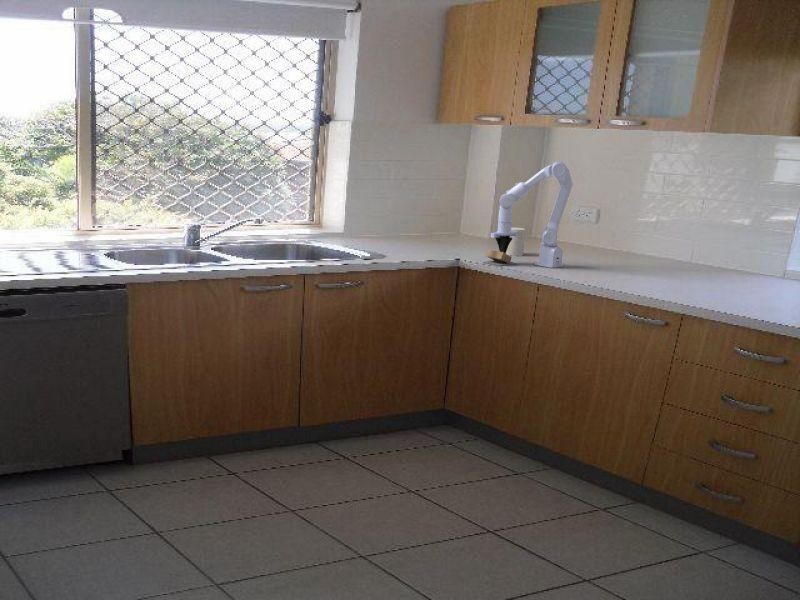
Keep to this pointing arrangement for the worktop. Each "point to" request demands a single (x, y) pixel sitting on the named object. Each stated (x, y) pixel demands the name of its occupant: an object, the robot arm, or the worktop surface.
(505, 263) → the mat
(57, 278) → the worktop surface
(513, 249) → the cup
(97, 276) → the worktop surface
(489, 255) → the slab
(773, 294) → the worktop surface
